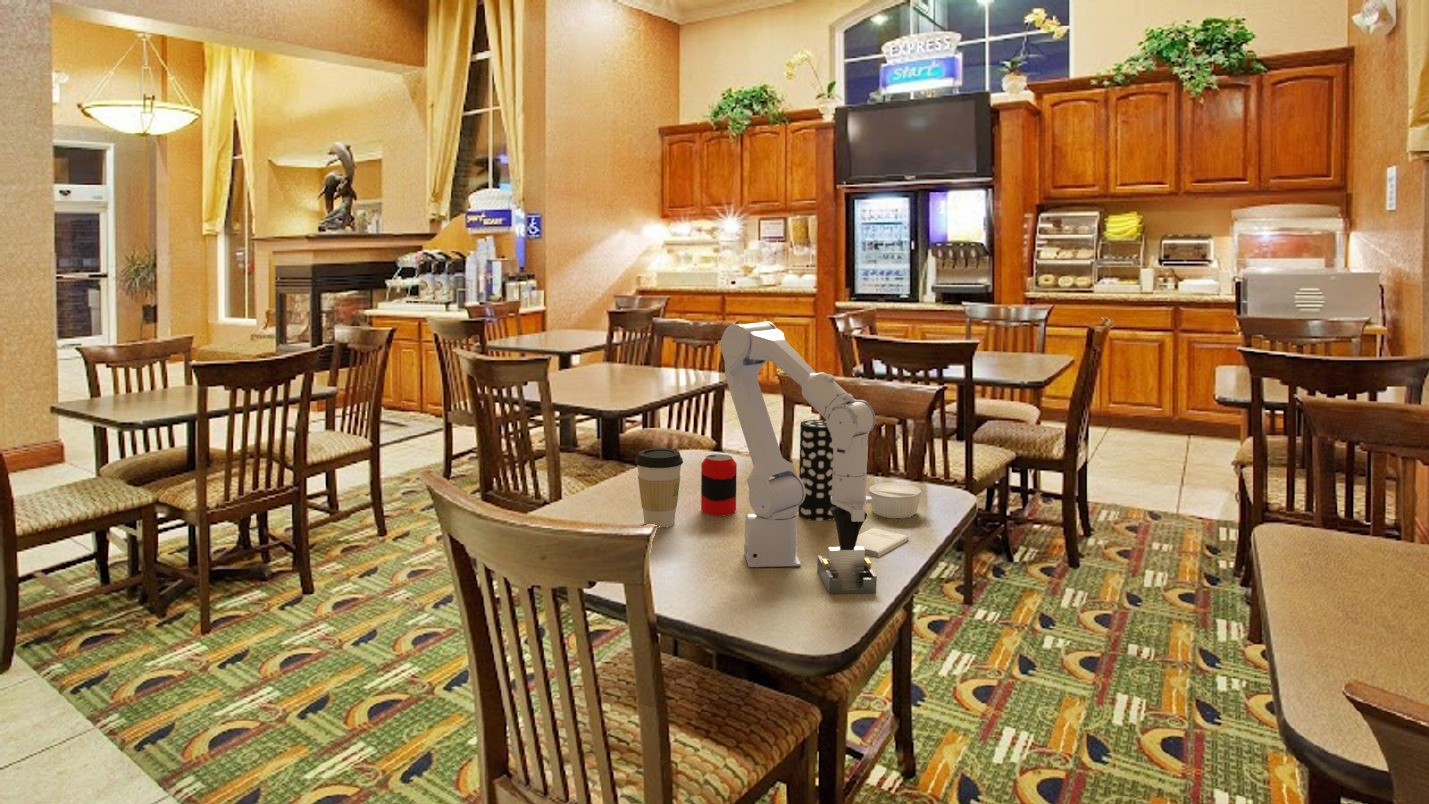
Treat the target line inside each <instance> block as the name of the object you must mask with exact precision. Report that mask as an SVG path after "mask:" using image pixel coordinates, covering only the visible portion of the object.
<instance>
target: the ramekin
mask: <svg viewBox="0 0 1429 804" xmlns="http://www.w3.org/2000/svg"><path fill="white" fill-rule="evenodd" d="M868 494H869V496H870V497H872V499H873V502H872V503H870V506H871V511H872V512H873V514H876V515H877V516H880V517H883V518H886V517H887V519H896V518H901V519H906V518H905V517H909V518H911V517H910V516H912V517H914V516H915V515H914V514H917V511H918V510H919V509H918V508H919V504H920V498H921V496H922V490H921V489H920V488H918V487H917V486H914V485H912V484H905V483H898V482H881V483H875V484H873V485H871V486H870V487H869V488H868ZM913 515H914V516H913Z"/></svg>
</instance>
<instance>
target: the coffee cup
mask: <svg viewBox="0 0 1429 804" xmlns="http://www.w3.org/2000/svg"><path fill="white" fill-rule="evenodd" d="M634 463H635V465H637V471H638V475H637V479H638V486H639V487H638V489H639V495H640V496H639V497H640V502H641V503H640V504H641V509H642V512H643V513H642V515H643V521H644V523H645V524H655V525H657V527H659V526H660V527H666V528H668V527H667V526H670V527H672V526H671V525H673V524H674V525H675V519H676V511H677V508H678V499H679V492H680V481H681V467H682V465H683V464H684V461H683V457H682V455H681V452H680V451H679V450H677V449H673V448H664V447H663V448H662V447H661V448H658V447H655V448H647V449H642V450H640V451H639V452H638V453H637V457H636V458H635V462H634ZM645 524H644V525H645ZM674 525H673V526H674Z"/></svg>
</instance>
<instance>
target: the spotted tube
mask: <svg viewBox="0 0 1429 804" xmlns="http://www.w3.org/2000/svg"><path fill="white" fill-rule="evenodd" d="M799 435H800V436H799V461H798V463H799V466H798V467H799V468H798V469H799V470H798V472H799V473H798V476H799V478H800V479H801V480H802V482H803V483H804V486H805V490H806V495H805V499H804V501H803V503H802V504H801V505H799V511H798V512H797V516H799V517H800V518H802V519H804V520H808V521H817V522H818V521H819V522H822V521H823V522H824V521H831V520H834V517H833V515H832V513H831V510H830V508H831V507H838V506H836V505H834V504H832V503H831V496H832V479H833V478H832V477H833V444H832V436H831V433H830V432H829V430H828V427H827V421H826V419H808V420H803V421H801V422H800V429H799Z"/></svg>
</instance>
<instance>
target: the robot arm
mask: <svg viewBox="0 0 1429 804" xmlns="http://www.w3.org/2000/svg"><path fill="white" fill-rule="evenodd" d="M719 348H720V351H721V354H722V357H723V361H724V375H725V379H726V383H727V386H728V389H729V392H730V396H731V399H732V402H733V404H734V409H735V411H736V415H737V418H738V421H739V424H740V428H741V431H742V434H743V437H744V441H745V444H746V446H747V449H748V453H749V456H750V459H751V462H752V466H753V468H752V469H751V471H750V473H749V474H748V476H747V478H746V483H747V486H748V501H749V505H750V507H751V509H752V510H753V513H747V514H746V515H745V519H744V544H743V554H744V556H745V561H746V562H747V565H748V567H749V568H766V567H769V568H771V567H774V568H775V567H776V568H777V567H778V568H780V567H800V566H801V561H800V559H799V557H798V555H797V551H796V550H797V516H798V511H799V505H801V504H802V503H803V501H804V499H805V495H806V490H805V486H804V483H803V482H802V480H801V479H800V478H799V474H798V473H797V471H796V468H795V465H793V463H791V462H789V461H787V459H785V458H784V457H783V455H782V452H781V449H780V446H779V443H778V439H777V437H776V433H775V430H774V427H773V424H772V420H771V418H770V416H769V411H768V408H767V405H766V402H765V399H764V396H763V392H762V390H761V386H760V384H759V380H758V375H759V373H760V371H761V369H762V368H763V367H764V366H765V364H767V362H768V361H769V362H771V363H773V364H774V365H775V366H776V367H777V368H779V369H780V371H782V372H783V373H785V374H786V375H787V376H788V377H789V378H790V379H792V380H793V381H794V382H795V383H797V384H798V385H799V386H800V387H801V395H802V396H801V397H802V398H803V399H804V400H806V402H808V404H809V405H810V406H812V408H814V409H815V410H816V411H817V412H818V414H820V415H821V416H822V417H823V418H824V420H826V421H827V427H828V430H829V432H830V433H831V436H832V444H833V477H832V478H833V479H832V496H831V503H832V504H834V505H836V506H837V507H831V508H830V510H831V513H832V515H833V517H834V519H833V520H834V522H835V523H834V524H835V526H836V527H835V528H836V531H837V532H836V533H837V537H838V545H839V547H840V548H841V549H842V550H854V548H855V545H856V541H857V537H858V535H860V530H861V528H862V526H863V524H864V523H865V521H866V520H867V517H868V513H867V512H866V511H865V509H866V506H867V504H871V503H872V502H873V499H872V497H870V495H867V476H868V475H867V473H868V450H869V449H868V448H869V445H868V444H869V433H870V432H871V431H872V430H873V429H874V427H875V424H876V415H875V414H876V413H875V412H874V409H873V407H871V405H870V403H869V402H867V401H866V400H863V399H855V397H854V395H853V394H851V393H848V392H847V391H845V389H844V388H842V386H841V385H839V384H838V383H837V382H836V381H835V380H836V377H835V376H834V375H833V374H831V373H829V374H828V373H826V372H816V371H815V369H813V368H812V367H811V366H810V365H809V363H807V362H806V361H805V360H804V358H803V357H801V355H800V354H799V353H798V352H797V351H796V350H795V349H794V348H793V347H792V346H791V345H790V344H789V342H788V341H787V340H786V339H785V334H784V332H783V331H782V330H780V329H778V327H777V326H776V325H775V323H772V322H771V321H767V320H765V321H761V322H754V323H753V322H752V323H741V324H740V323H739V324H737V323H733V324H731V325H729V326H727V328H725V330H724V332H723V334H722V336H721V339H720V341H719ZM771 477H773V478H771ZM770 478H771V479H770Z"/></svg>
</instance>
